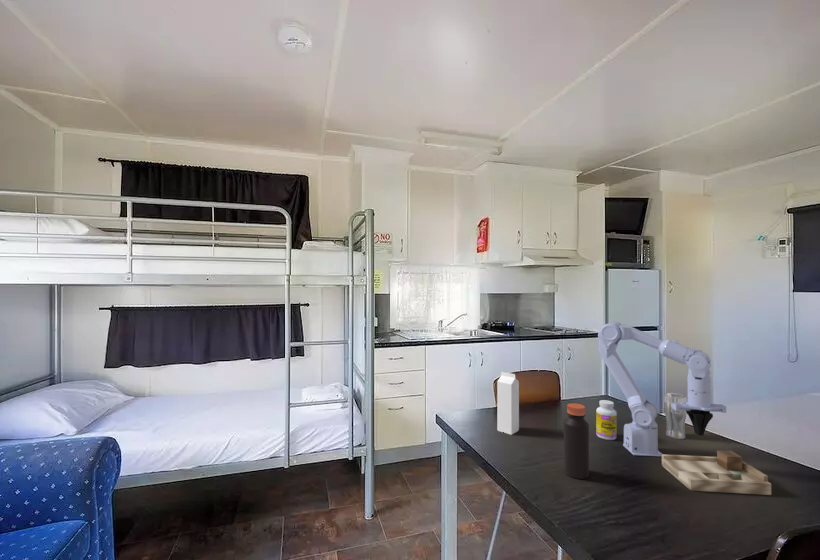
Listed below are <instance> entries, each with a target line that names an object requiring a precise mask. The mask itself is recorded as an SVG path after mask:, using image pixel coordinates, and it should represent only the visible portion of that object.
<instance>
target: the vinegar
mask: <svg viewBox="0 0 820 560" xmlns="http://www.w3.org/2000/svg"><path fill="white" fill-rule="evenodd" d="M566 410H567V411H566V414H567V417H566V418H565V419H564V420H563V471H564V474H566V475H567V476H568V477H570V478H573V479H579V480H582V479H587V478H589V475H590V445H589V444H590V441H589V440H590V435H589V434H590V429H589V428H590V425H589V423H588V421H587V420H586V419H585V417H586V406H585V405H583V404H581V403H575V402H574V403H573V402H572V403H568V404H567V405H566Z"/></svg>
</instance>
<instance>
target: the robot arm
mask: <svg viewBox="0 0 820 560" xmlns="http://www.w3.org/2000/svg"><path fill="white" fill-rule="evenodd" d="M597 338H598V354H599V355H600V357H601V359H602V361H603V362H604V364H605V365H606V366H607V367H606V368H608V371H609V372H610V373H611V375H612V378H613V379H614V381H615V382H616V384H617V385H618V387H619V388H620V390H621V392H622V393H623V395H624V397H625V398H626V401H627V404H628V408H629V410H630V413H631V418H632V422H630V423H625V424H624V426H623V444H622V446H623V447H624V448H625V449H626V450H628V452H629V453H631V454H632V455H633V456H641V457H642V456H643V457H661V458H662V454H663V453H662V452H660V451H659V445H658V444H659V442H658V441H659V439H658V437H659V436H658V435H659V434H658V433H659V431H658V430H659V427H658V426H659V424H658V423H657V422H656V418H657V417H658V413H659V411H658V408H657V407H656V405H654V403H652V402H651V401H649V400H648V399H649V398H647V396H646V395H644V394H643V393H642V391H641V390H640V388H639V387H638V385H637V384H636V381H635V380H634V379H633V377H632V375H631V373H630V372H629V371H628V369H627V368H626V366H625V364H624V362H623V361H622V359H621V357H620V356H619V354H618V352H617V351H616V350H617V347H618V345H619V342H620V341H628V340H629V341H630V340H633V341H636V342H638V343H640V344H643V345H645V346H649V347H650V348H653V349H656V350H658V352H659V353H660V355H661V356H662V357H665V358H667V359H670V360H672V361H674V362H677V363H678V364H681V365H686V366H687V367H688V370H687V371H688V374H687V402H681V403H672V409H674V410H675V411H679V410H684V411H686V412H687V415H688V418H689V419H690V421H691V425H692V428H693V431H694V434H696V435H698V436H704V434H705V432H706V429H707V426H708V424H709V423H710V421H711V420H712V419H713V417H714V414H713V413H717V412H718V413H725V414H727V406H726V405H724V404H717V403H711V401H712V400H711V399H712V398H711V397H712V395H711V394H712V393H711V391H712V390H711V386H712V385H711V383H712V382H711V381H712V380H711V370H710V368H711V365H712V363H711V361H712V360H711V358H710V356H709V355H708V353H706V352H704V351H703V350H702V349H701V350H699V349H697V350H696V348H695V347H689V346H687V345H685V344H682V343H681V342H679V340H677V339H673V340H672V339H670V338H669V339H666V340H662V339H660V338H657V337H656V336H653V335H651V334H649V333H646V332H644V331H642V330H640V329H637V328H635V327H633V326H630V325H627V324H622V323H621V322H618V321H612V322H609V323H605V324H604V325H602V326H601V327H600V330H599V331H598V334H597ZM712 412H713V413H712Z"/></svg>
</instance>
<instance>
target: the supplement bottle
mask: <svg viewBox="0 0 820 560" xmlns="http://www.w3.org/2000/svg"><path fill="white" fill-rule="evenodd" d="M598 404H599V406H598V407H597V408H596V411H595V412H596V414H595V416H596V417H595V418H596V419H595V427H596V430H595V433H596V436H597V437H598V438H599V439H603V440H607V441H613V440H616V439H617V434H618V432H617V431H618V430H617V428H618V427H617V425H618V423H617V421H618V420H617V419H618V418H617V417H618V412H617V410H615V409H614V407H615V403H614V401H612V400H608V399H607V400H606V399H602V400H601V399H600V400H599V401H598Z"/></svg>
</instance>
